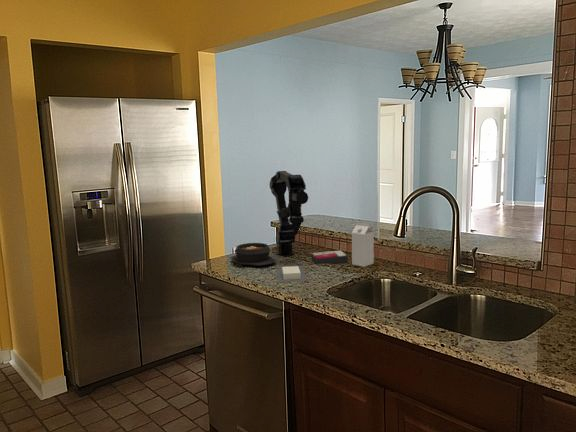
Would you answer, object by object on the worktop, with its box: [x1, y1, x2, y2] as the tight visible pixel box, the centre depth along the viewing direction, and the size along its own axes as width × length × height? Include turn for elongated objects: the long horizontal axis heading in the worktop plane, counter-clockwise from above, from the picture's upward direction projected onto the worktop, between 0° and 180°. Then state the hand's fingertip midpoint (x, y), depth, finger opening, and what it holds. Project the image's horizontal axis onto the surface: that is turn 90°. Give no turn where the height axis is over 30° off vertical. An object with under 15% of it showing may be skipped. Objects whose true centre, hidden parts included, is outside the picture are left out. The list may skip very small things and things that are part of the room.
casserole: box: [230, 242, 277, 267], centre depth 226 cm, size 25×19×8 cm
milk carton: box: [351, 222, 375, 268], centre depth 218 cm, size 7×7×19 cm
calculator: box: [311, 250, 348, 265], centre depth 227 cm, size 11×4×15 cm
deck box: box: [281, 265, 301, 280], centre depth 202 cm, size 3×7×11 cm
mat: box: [275, 267, 308, 283], centre depth 204 cm, size 20×12×1 cm, turn 4°
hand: (295, 234), depth 226 cm, fingers closed
